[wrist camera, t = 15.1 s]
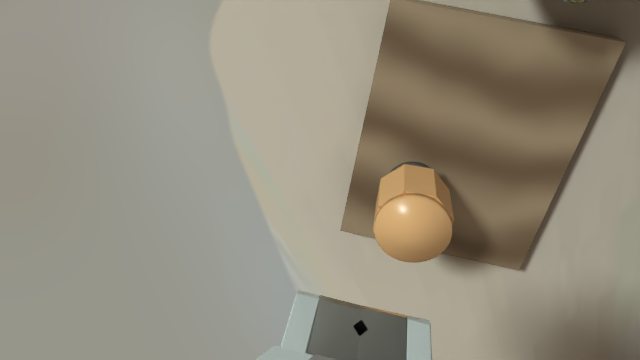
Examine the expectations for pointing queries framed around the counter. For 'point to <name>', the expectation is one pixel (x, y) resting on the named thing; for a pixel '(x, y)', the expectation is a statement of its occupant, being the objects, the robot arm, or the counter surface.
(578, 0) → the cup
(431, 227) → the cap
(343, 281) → the counter surface
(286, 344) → the robot arm
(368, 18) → the counter surface
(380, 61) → the board
